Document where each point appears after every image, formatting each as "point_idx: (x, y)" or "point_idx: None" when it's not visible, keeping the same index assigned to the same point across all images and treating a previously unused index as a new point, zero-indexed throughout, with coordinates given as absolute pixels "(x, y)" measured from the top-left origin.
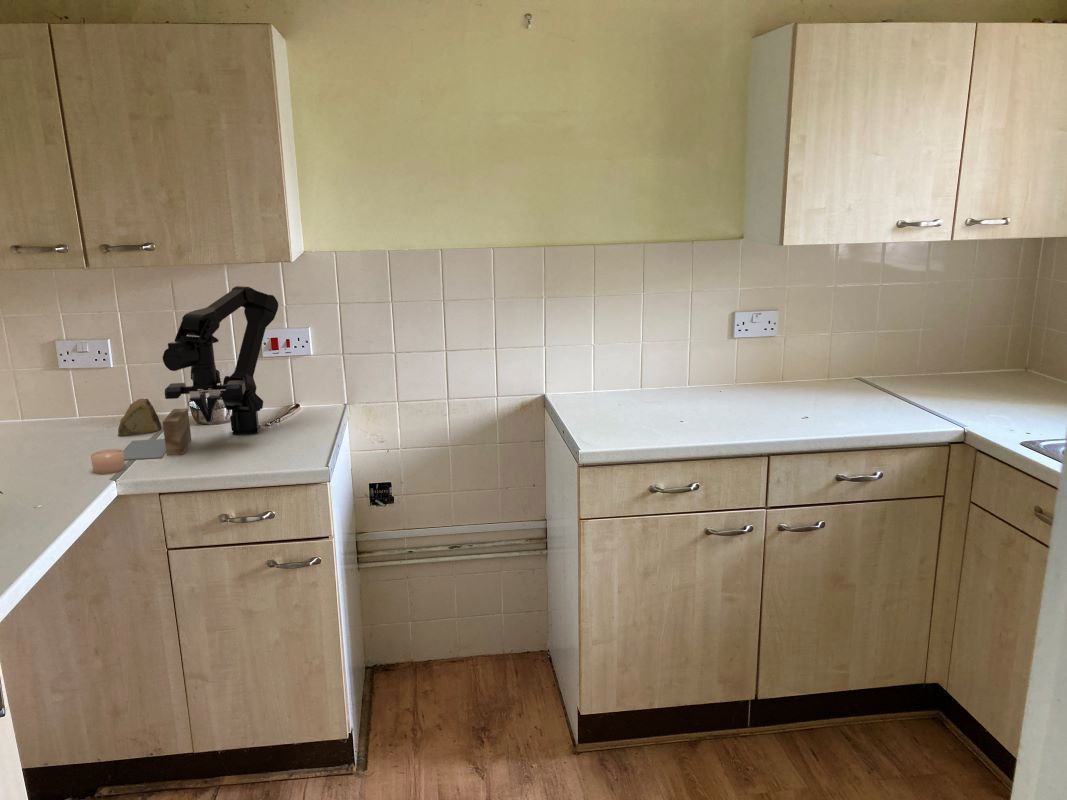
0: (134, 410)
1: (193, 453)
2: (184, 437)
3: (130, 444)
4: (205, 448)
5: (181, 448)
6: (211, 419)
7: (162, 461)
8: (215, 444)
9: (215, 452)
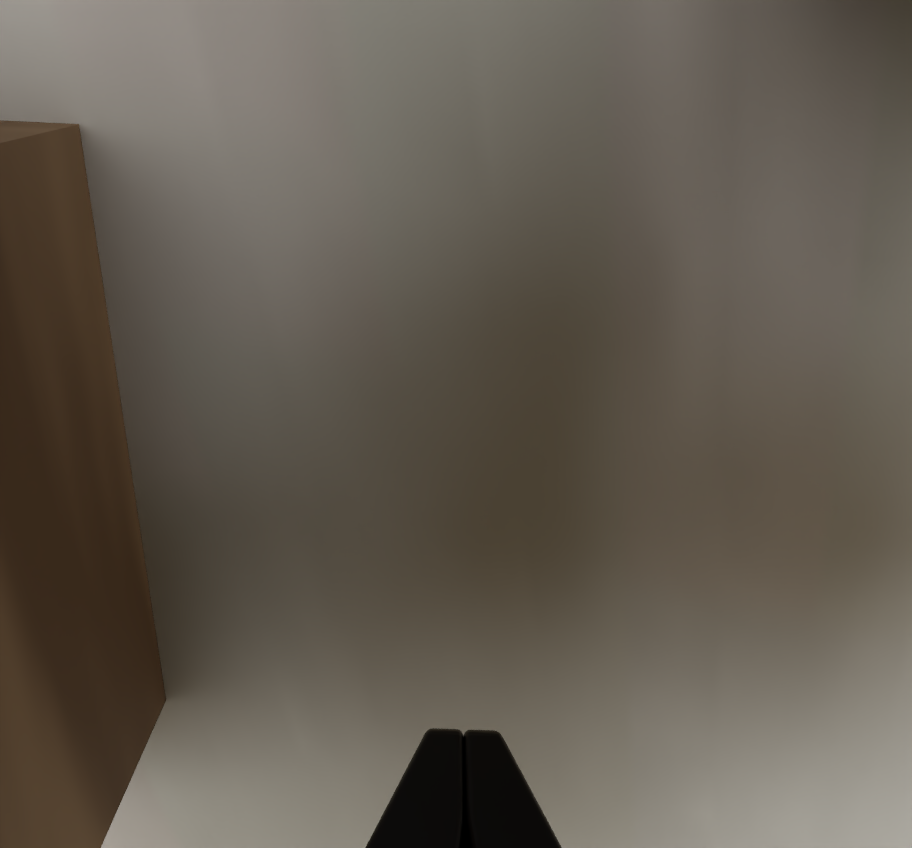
0: None
1: (290, 687)
2: (67, 603)
3: None
4: (393, 551)
5: (138, 724)
6: (510, 764)
7: None
8: (500, 419)
9: (533, 705)
